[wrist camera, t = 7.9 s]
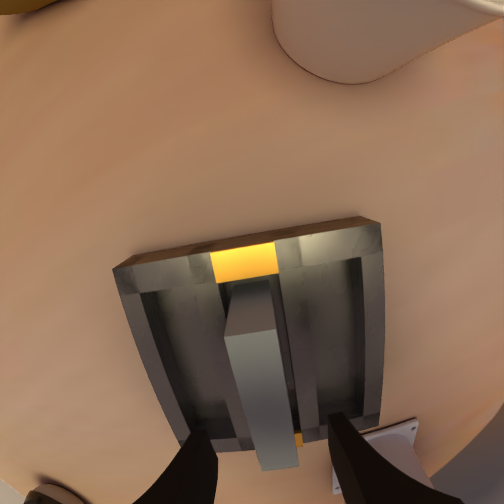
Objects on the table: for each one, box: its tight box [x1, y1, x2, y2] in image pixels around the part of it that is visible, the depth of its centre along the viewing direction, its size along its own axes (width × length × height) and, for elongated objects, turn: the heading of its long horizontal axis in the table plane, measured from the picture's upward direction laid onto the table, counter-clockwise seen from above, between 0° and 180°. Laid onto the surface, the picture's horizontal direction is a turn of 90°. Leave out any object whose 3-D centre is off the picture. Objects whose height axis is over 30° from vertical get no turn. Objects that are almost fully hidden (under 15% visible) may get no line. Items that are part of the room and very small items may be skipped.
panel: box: [224, 280, 299, 471], centre depth 15 cm, size 9×2×6 cm, turn 10°
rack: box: [112, 216, 385, 453], centre depth 17 cm, size 14×14×3 cm
